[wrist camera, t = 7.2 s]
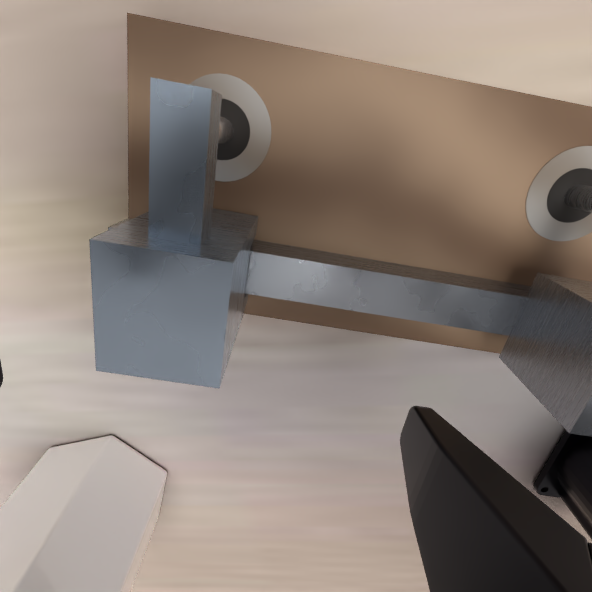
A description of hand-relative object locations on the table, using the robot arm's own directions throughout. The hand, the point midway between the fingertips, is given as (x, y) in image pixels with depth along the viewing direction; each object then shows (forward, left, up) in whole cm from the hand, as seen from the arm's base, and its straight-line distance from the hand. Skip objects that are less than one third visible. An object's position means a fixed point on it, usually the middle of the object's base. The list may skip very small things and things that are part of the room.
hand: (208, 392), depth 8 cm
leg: (+2, +2, -10) cm, 11 cm away
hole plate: (+3, -6, -12) cm, 14 cm away
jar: (-18, +8, -12) cm, 23 cm away
